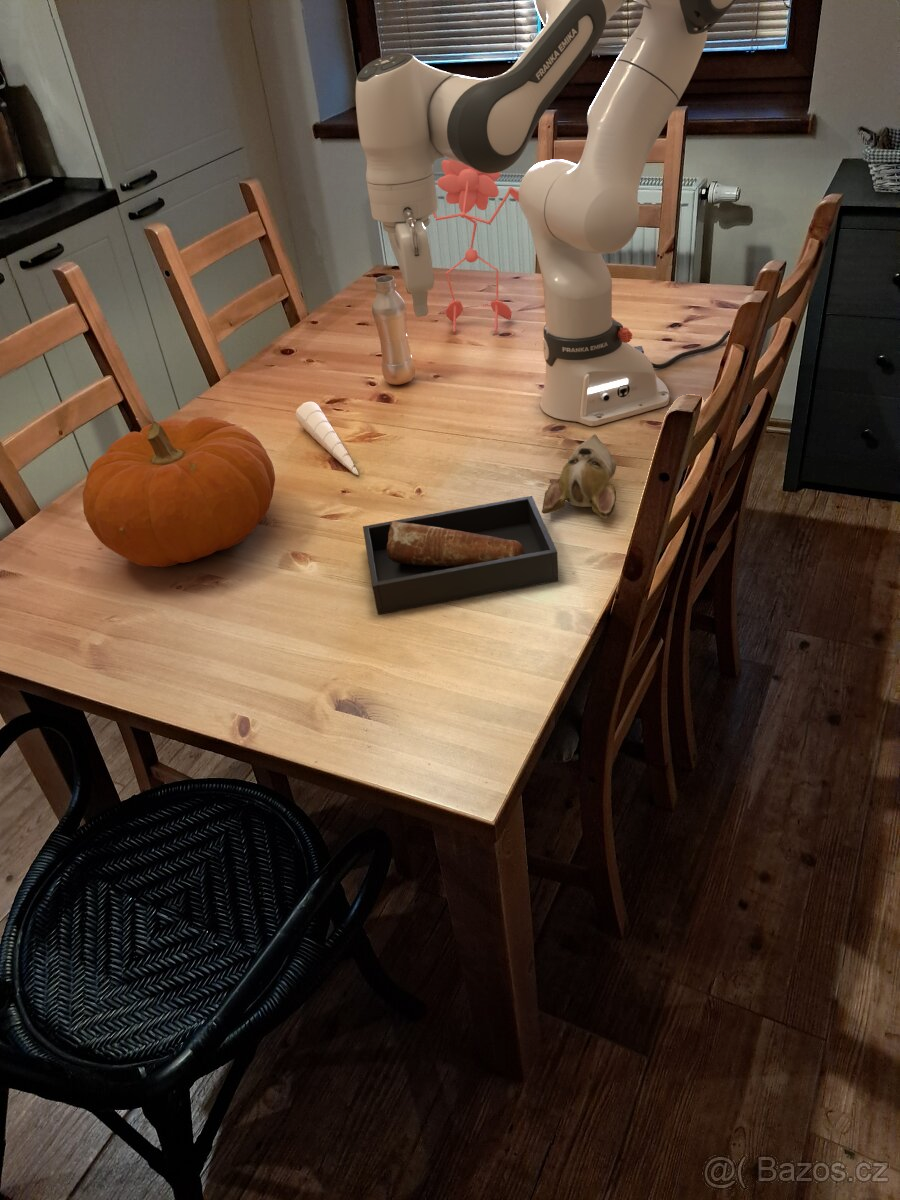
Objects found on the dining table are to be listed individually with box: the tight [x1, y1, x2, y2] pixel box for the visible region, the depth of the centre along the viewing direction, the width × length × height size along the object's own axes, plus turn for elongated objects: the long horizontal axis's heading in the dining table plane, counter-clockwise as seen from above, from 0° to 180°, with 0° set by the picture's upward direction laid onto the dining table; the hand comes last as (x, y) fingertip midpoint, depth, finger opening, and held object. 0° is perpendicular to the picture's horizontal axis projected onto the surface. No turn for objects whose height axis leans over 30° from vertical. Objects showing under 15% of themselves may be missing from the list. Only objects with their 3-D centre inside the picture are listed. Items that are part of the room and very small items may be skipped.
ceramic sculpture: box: [541, 433, 617, 520], centre depth 134 cm, size 11×9×15 cm
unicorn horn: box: [295, 401, 359, 476], centre depth 156 cm, size 5×24×5 cm, turn 23°
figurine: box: [432, 159, 524, 333], centre depth 186 cm, size 15×26×35 cm, turn 75°
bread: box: [387, 520, 525, 567], centre depth 124 cm, size 6×19×6 cm, turn 74°
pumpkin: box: [82, 416, 276, 568], centre depth 134 cm, size 28×28×20 cm
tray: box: [362, 495, 559, 615], centre depth 125 cm, size 25×15×5 cm, turn 99°
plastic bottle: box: [371, 275, 416, 385], centre depth 171 cm, size 6×7×20 cm
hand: (417, 302), depth 128 cm, fingers open, 8 cm apart
